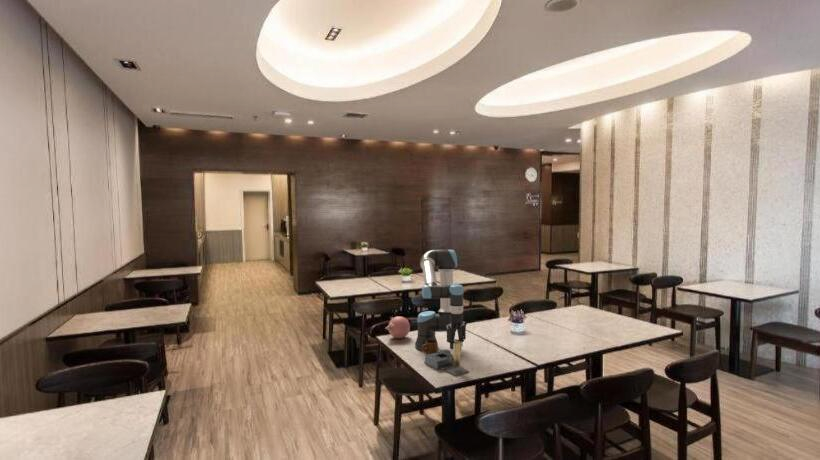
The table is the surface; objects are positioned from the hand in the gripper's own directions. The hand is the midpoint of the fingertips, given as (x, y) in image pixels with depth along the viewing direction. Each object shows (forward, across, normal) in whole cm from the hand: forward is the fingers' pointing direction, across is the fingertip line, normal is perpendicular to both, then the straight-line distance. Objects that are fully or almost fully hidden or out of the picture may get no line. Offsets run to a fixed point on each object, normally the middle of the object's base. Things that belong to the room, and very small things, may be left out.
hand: (456, 353), depth 226 cm
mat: (+10, 0, 0) cm, 10 cm away
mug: (+11, 0, +26) cm, 28 cm away
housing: (+10, 0, +13) cm, 17 cm away
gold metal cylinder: (+7, 0, 0) cm, 7 cm away
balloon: (+10, +2, +67) cm, 68 cm away
